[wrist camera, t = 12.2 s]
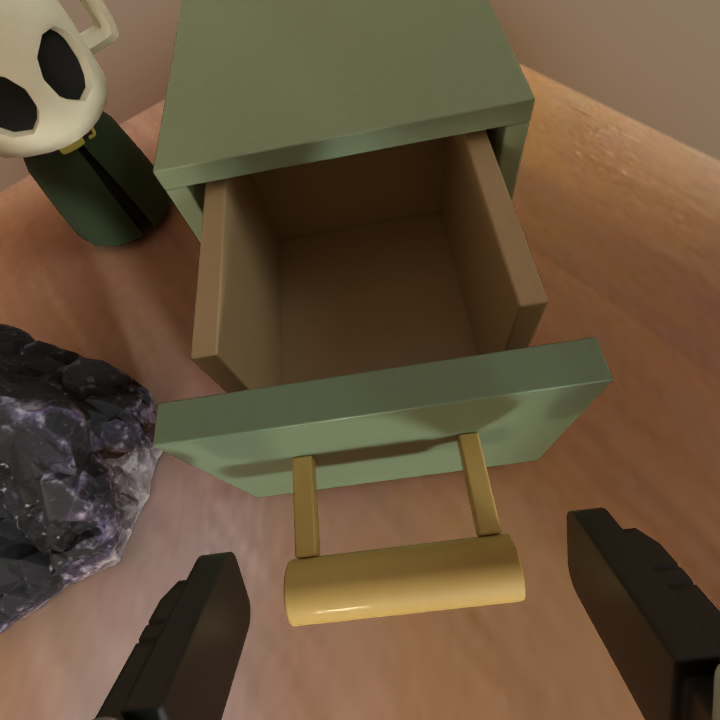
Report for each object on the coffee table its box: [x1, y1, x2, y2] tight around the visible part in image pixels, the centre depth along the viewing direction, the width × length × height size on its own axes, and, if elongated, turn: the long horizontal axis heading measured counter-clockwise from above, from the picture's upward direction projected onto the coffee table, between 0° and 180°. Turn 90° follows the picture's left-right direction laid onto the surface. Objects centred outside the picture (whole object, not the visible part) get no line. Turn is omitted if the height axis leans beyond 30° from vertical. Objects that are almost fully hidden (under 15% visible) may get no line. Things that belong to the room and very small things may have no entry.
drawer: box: [153, 130, 613, 626], centre depth 16 cm, size 18×11×8 cm, turn 6°
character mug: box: [0, 0, 170, 246], centre depth 22 cm, size 11×7×13 cm, turn 136°
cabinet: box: [153, 0, 535, 243], centre depth 22 cm, size 15×13×10 cm
